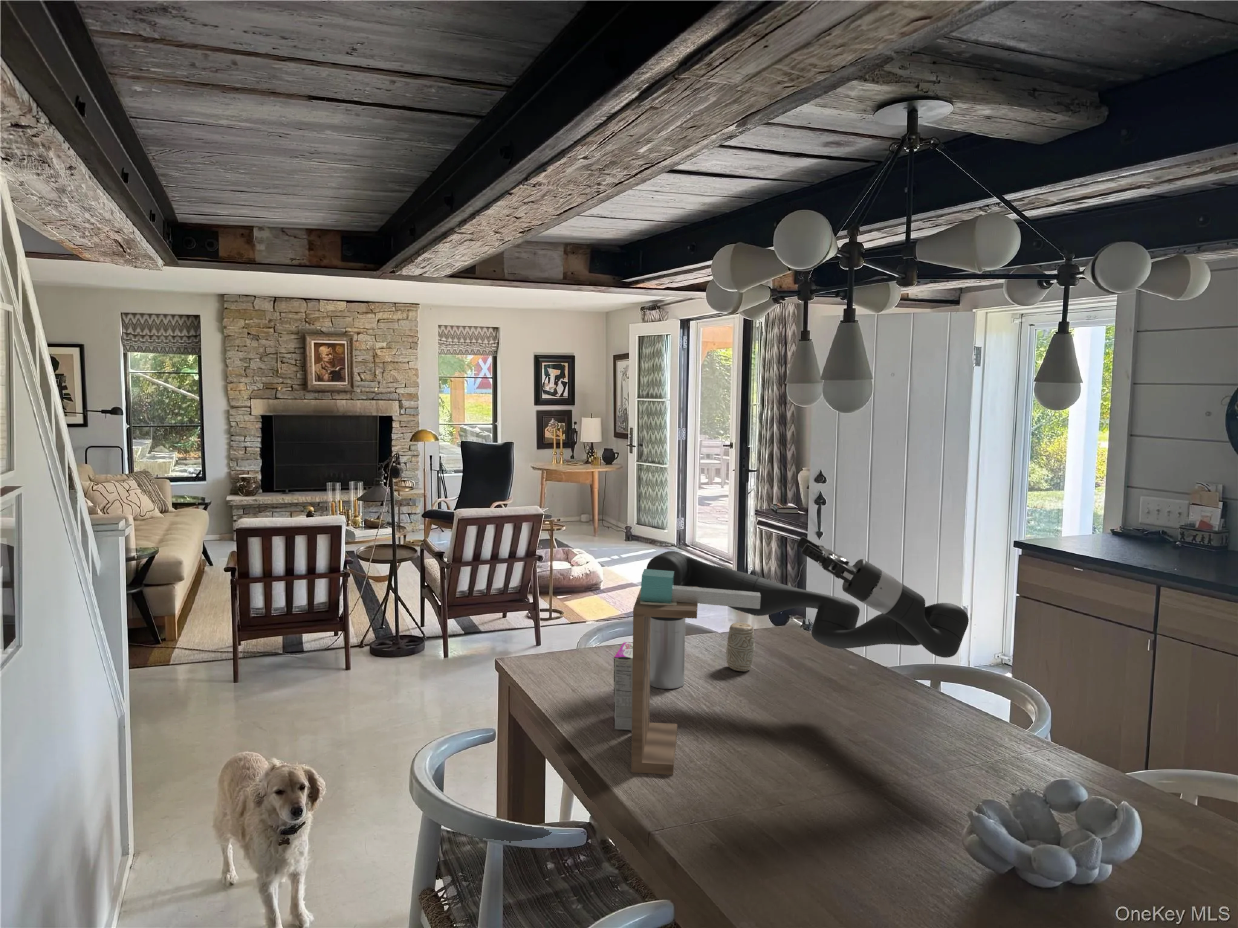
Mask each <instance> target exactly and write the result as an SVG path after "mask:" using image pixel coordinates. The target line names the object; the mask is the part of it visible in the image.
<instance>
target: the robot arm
mask: <svg viewBox="0 0 1238 928" xmlns="http://www.w3.org/2000/svg"><path fill="white" fill-rule="evenodd" d="M796 545H797V547H799V548H800V549H801V554H802V555H804V556H805V557H807V558H809V559H811V560H812V561H814V562H815V563H817V564H818V565H819V567H821V568H822V569H823V570H824V571H826V572H827V573H828V574H831V575H832V576H833V577H835V578H836V579H838V580H839V579H840V580H842V581H843V582H842V584H841V585H842V591H843V592H844V593H846V594H848V595H849V596H850V597H852V598H854V599H856V600H857V601H860V602H861V603H862V604H864V605H866V606H867V607H869V608H870V609H873V610H874V611H877V612H879V613H880V614H877V615H876V616H875V615H874V617H872V618H871V619H869V620H867V621H865V622H864V623H862V624H861V625H859V626H857V623H858V620H859V617H860V613H861V612H860V611H861V609H860V607H859V606H858V605H857V604H856V603H854V602H853V601H850V600H848V599H845V598H841V597H839V596H834V595H830V594H825V593H821V592H815V591H813V590H812V591H810V590H807V589H802V588H799V587H798V588H797V587H793V586H789V585H786V584H783V583H780V582H776V581H773V580H772V579H771V580H770V579H767V578H764V577H760V576H758V575H753V574H750V573H748V572H743V571H738V570H735V569H731V568H727V567H722V566H717V565H713V564H710V563H707V562H704V561H702V560H700V559H697V558H694V557H692V556H689V555H687V554H684V553H682V552H679V551H675V550H668V551H665V552H662V553H660V554H657V555H655V556H654V557H652V558H651V559H650V560H649V562H648V563H647V565H646V568H645V569H652V570H664V571H674V583H673V585H675V586H687V587H699V588H711V589H723V590H735V591H747V592H759V593H760V595H761V600H760V609H755V608H744V607H732V606H727V607H729V608H730V609H733V610H735V611H738V612H742V613H745V614H747V615H751V616H754V617H755V616H756V617H763V616H764V617H765V616H767V615H768V616H769V615H772V614H776V613H779V612H783V611H785V610H791V609H792V610H793V609H798V608H802V609H803V608H805V609H806V608H808V609H815V610H817V611H816V613H815V617H814V621H813V624H812V628H811V637H812V638H813V639H814V640H815V641H816V642H818V643H819V644H820V645H823V646H826V647H829V648H833V649H839V650H844V649H855V648H864V647H871V646H878V645H895V646H896V645H898V646H901V645H902V646H912V647H913V646H916V647H917V646H922V647H923V648H924V649H925V650H926V651H927V652H929V653H931V654H932V655H934V656H936V657H938V658H945V659H946V658H947V659H949V658H953V657H954V656H955V655H957V653H958V651H959V649H960V646H961V644H962V641H963V639H964V637H965V634H966V631H967V629H968V627H969V619H970V617H969V616H968V613H967V612H966V610H964V609H963V608H962V607H961V606H959V605H956V604H954V603H951V602H939V603H934V604H929V605H927V606H926V599H925V598H924V597H923V596H922V594H920V593H918V592H917V591H915V590H914V589H912V588H911V587H908V586H907V585H905V584H904V583H902V582H900V581H899V580H897V579H896V578H895V577H894V576H892V575H891V574H889V573H887V572H885V571H884V570H882V568H881V569H880V567H877V566H876V565H874V564H873V563H871V562H869V561H868V560H866V559H864V558H861V559H860V558H859V559H858V560H857V561H856V562H854V564H853V565H850V561H848V559H847V558H846V557H845V556H843V555H839V554H838V553H836V552H835V551H833V550H832V549H829V548H826V547H825V546H824V545H822V544H817V543H814V542H813V541H812V540H810V539H808V538H806V537H805V536H801V537H799V540H798V541H797V543H796ZM685 665H686V618H668V617H651V638H650V687H654V688H656V689H662V690H663V689H665V690H672V689H678V688H682V687H683V686H684V685H685V669H686V667H685Z"/></svg>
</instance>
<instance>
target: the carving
mask: <svg viewBox="0 0 1238 928" xmlns="http://www.w3.org/2000/svg"><path fill="white" fill-rule="evenodd" d="M754 631H755V629H754V627H753V625H751V624H750V623H747V622H741V621H740V622H734V623H732V624H730V626H729V630H728V634H727V635H728V636H727V642H726V651H725V652H726V653H725V655H726V657H725V658H726V659H725V660H726V664H727V666H728V668H730V669H731V670H733V671H738V672H743V673H744V672H748V671H749V670H750V669H751V667H752V663H753V661H754V657H755V650H756V649H755V646H756V645H755V632H754Z"/></svg>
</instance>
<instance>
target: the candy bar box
mask: <svg viewBox="0 0 1238 928" xmlns="http://www.w3.org/2000/svg"><path fill="white" fill-rule="evenodd" d="M632 674H633V642H629V641H624V642H623V643H622V644H621V645H620V647H619V649H618V651H617V652H616V653H615V654H614V656H613V729H614V730H616V731H623V732H625V731H627V732H632Z"/></svg>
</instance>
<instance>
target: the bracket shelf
mask: <svg viewBox="0 0 1238 928" xmlns="http://www.w3.org/2000/svg"><path fill="white" fill-rule="evenodd" d="M637 594H638V595H637V597H636V599H635V602H634V605H633V608H632V612H633V613H632V643H633V674H632V731H631V763H630V764H631V766H630V767H631V768H630V769H631V770H630V771H631V773H638V774H639V773H640V774H642V773H643V774H653V775H654V774H655V775H656V774H657V775H672V776H674V769H675V760H676V759H675V758H676V749H677V737H678V723H667V722H666V723H665V722H650V709H651V708H650V706H651V705H650V704H651V703H650V702H651V701H650V700H651V699H650V698H651V697H650V696H651V695H650V694H651V685H650V638H651V617H668V618H685V619H695V620H697V619H698V605H699V604H697V603H685V602H673V601H672V602H671V603H663V602H651V601H640V597H641V588H640V589H639V591H638V593H637Z"/></svg>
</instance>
